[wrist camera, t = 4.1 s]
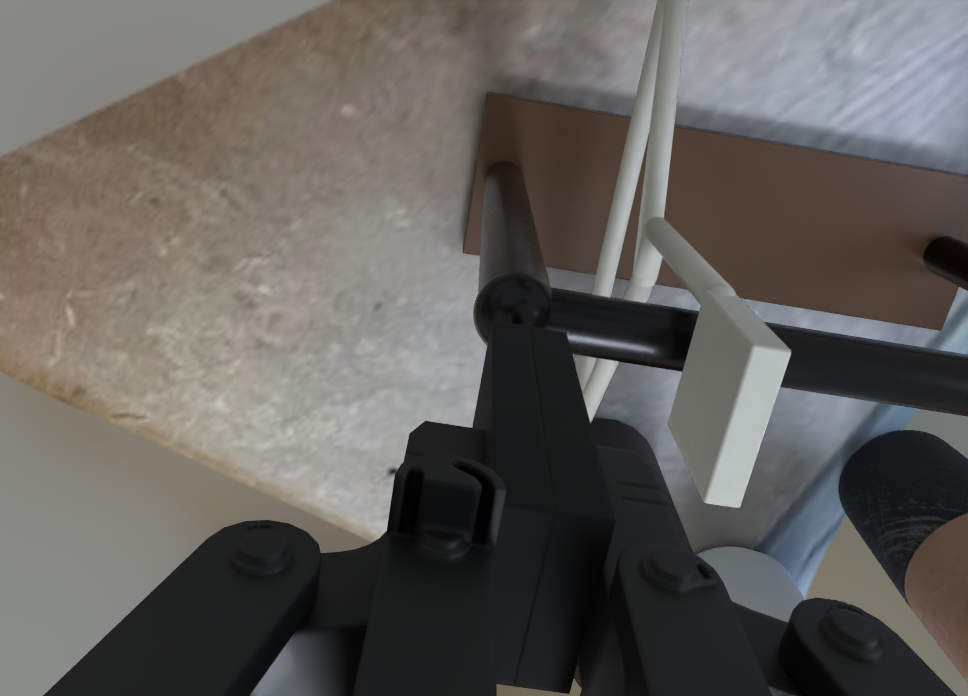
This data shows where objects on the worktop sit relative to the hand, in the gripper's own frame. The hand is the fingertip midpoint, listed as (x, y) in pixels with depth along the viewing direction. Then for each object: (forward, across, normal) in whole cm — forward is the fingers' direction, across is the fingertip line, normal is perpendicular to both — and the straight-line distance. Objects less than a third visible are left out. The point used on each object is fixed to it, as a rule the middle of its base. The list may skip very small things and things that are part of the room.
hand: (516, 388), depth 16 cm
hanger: (+17, +5, 0) cm, 18 cm away
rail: (+27, +12, 0) cm, 29 cm away
